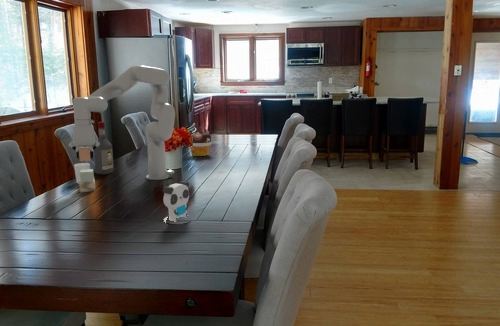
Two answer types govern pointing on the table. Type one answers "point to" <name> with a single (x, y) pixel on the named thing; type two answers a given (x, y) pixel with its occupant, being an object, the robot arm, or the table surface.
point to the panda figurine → (176, 200)
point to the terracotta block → (84, 154)
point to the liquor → (103, 153)
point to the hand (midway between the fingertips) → (85, 158)
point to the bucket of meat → (201, 143)
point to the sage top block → (86, 175)
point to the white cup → (80, 167)
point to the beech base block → (87, 186)
